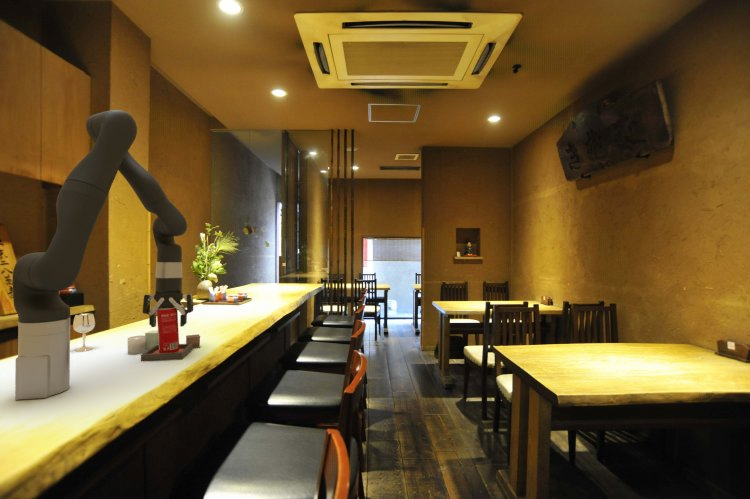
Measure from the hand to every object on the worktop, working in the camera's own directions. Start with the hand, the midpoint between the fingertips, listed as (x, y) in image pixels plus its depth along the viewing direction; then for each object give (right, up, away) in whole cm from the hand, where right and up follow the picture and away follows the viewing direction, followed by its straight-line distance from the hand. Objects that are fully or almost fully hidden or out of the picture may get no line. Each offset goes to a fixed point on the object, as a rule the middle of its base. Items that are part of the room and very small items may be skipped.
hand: (168, 326), depth 118 cm
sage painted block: (-9, -9, +7) cm, 15 cm away
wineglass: (-32, -9, +6) cm, 34 cm away
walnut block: (+3, -10, +10) cm, 14 cm away
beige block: (-12, -9, +3) cm, 15 cm away
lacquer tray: (0, -9, 0) cm, 9 cm away
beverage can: (0, -9, 0) cm, 9 cm away
